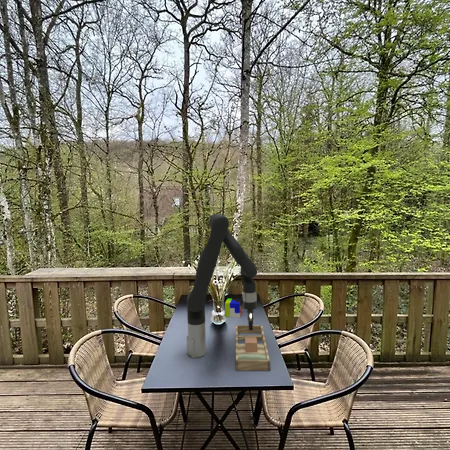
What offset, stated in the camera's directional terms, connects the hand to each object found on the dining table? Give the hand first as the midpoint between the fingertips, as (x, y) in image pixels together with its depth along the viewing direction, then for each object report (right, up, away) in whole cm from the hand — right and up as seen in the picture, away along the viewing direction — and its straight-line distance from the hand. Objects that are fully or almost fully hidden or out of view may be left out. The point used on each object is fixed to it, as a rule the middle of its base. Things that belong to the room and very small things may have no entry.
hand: (250, 329), depth 163 cm
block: (-1, -7, -8) cm, 11 cm away
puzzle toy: (-8, -5, +44) cm, 45 cm away
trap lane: (0, -9, -4) cm, 10 cm away
